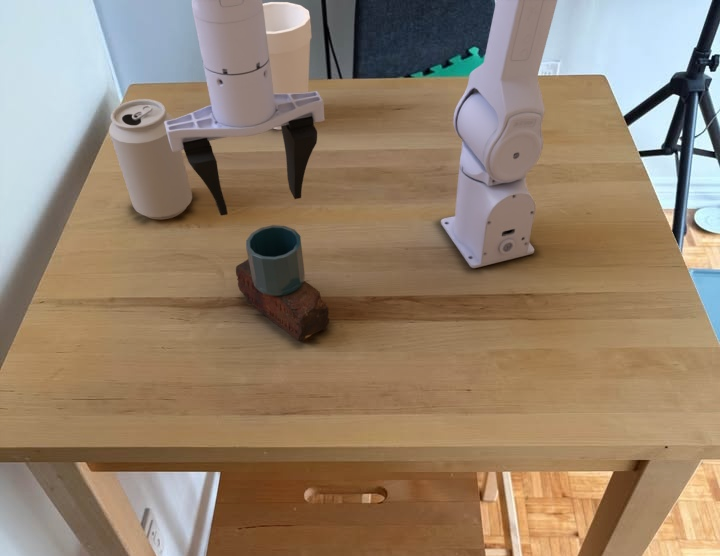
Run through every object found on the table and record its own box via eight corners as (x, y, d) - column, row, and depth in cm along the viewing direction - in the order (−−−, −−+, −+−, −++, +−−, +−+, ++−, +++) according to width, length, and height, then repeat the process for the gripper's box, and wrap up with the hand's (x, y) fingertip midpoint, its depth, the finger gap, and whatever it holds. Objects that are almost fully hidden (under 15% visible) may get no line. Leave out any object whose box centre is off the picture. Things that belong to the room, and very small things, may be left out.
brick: (240, 300, 79) (232, 265, 75) (267, 283, 81) (261, 248, 77) (303, 347, 75) (299, 313, 71) (331, 328, 76) (328, 294, 72)
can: (123, 204, 90) (92, 110, 81) (174, 181, 93) (149, 87, 83) (153, 231, 87) (124, 135, 77) (205, 206, 90) (183, 111, 80)
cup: (311, 288, 73) (307, 251, 69) (259, 301, 72) (252, 264, 68) (297, 257, 76) (292, 220, 72) (247, 269, 75) (240, 232, 71)
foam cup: (322, 102, 104) (314, 2, 93) (313, 136, 99) (304, 34, 88) (258, 101, 105) (244, 1, 94) (246, 134, 99) (229, 33, 89)
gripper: (303, 25, 64) (315, 166, 76) (144, 54, 62) (181, 195, 73) (327, 59, 61) (336, 202, 72) (158, 91, 58) (194, 234, 69)
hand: (259, 201), depth 72 cm, fingers open, 7 cm apart
